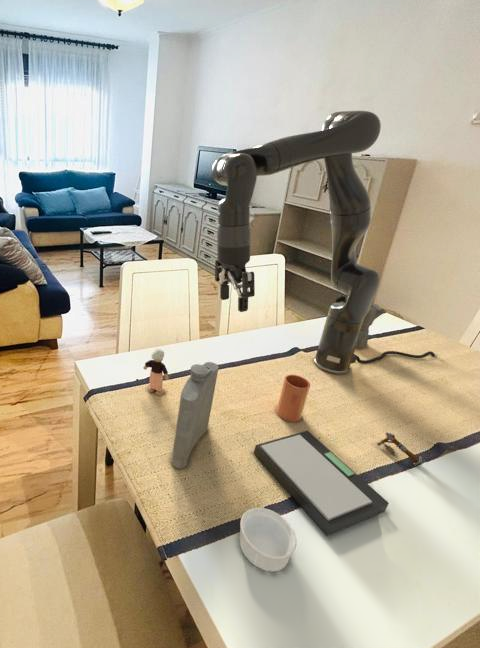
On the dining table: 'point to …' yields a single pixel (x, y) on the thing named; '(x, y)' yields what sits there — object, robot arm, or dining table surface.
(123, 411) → the dining table surface
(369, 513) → the scale
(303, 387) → the tumbler
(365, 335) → the coffeepot
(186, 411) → the hip flask
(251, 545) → the ramekin
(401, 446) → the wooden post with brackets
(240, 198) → the robot arm
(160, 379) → the grandmother figurine
